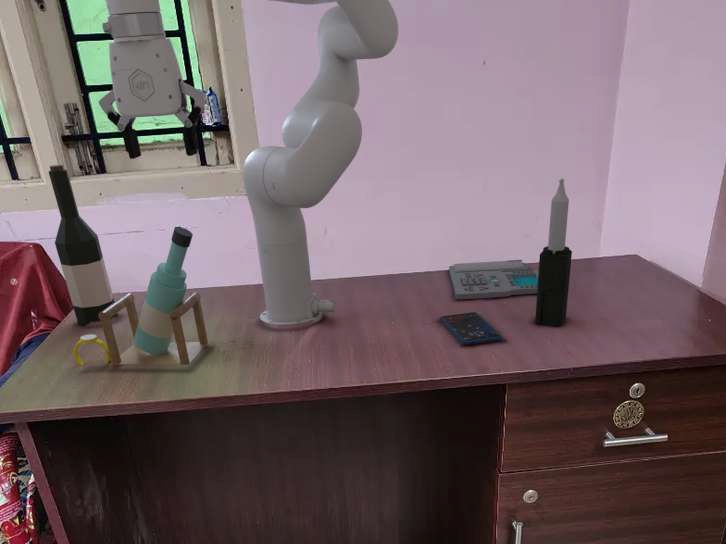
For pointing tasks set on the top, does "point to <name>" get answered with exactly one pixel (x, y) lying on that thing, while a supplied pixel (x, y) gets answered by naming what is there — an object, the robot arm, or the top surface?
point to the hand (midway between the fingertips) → (163, 156)
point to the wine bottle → (79, 254)
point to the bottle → (163, 297)
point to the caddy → (177, 350)
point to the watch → (90, 339)
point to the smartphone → (470, 328)
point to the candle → (554, 266)
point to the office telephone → (493, 279)
